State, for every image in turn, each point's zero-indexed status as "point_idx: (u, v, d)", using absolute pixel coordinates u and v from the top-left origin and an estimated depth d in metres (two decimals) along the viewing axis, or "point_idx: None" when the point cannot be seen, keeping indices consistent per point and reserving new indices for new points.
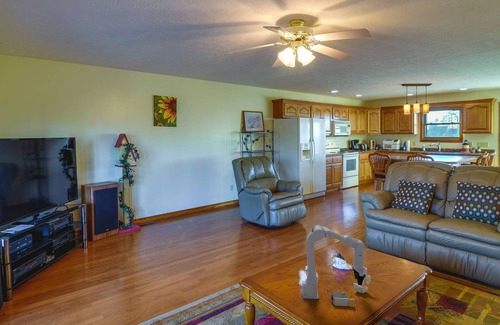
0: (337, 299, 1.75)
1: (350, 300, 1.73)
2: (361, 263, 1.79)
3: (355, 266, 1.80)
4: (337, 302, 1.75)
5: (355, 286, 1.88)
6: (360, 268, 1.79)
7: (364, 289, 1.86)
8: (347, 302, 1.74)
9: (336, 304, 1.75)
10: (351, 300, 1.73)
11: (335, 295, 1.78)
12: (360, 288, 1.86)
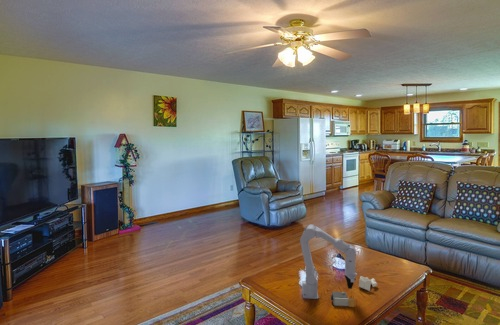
0: (337, 299, 1.75)
1: (350, 300, 1.73)
2: (352, 269, 1.75)
3: (346, 272, 1.77)
4: (337, 302, 1.75)
5: (362, 277, 1.94)
6: (351, 274, 1.75)
7: (369, 284, 1.91)
8: (347, 302, 1.74)
9: (336, 304, 1.75)
10: (351, 300, 1.73)
11: (335, 295, 1.78)
12: (367, 279, 1.92)
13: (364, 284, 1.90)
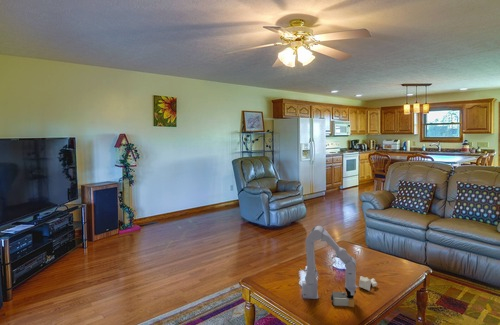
0: (337, 299, 1.75)
1: (350, 300, 1.73)
2: (353, 282, 1.74)
3: (346, 285, 1.75)
4: (337, 302, 1.75)
5: (362, 277, 1.94)
6: (352, 287, 1.74)
7: (369, 284, 1.91)
8: (347, 302, 1.74)
9: (336, 304, 1.75)
10: (351, 300, 1.73)
11: (335, 295, 1.78)
12: (367, 279, 1.92)
13: (364, 284, 1.90)
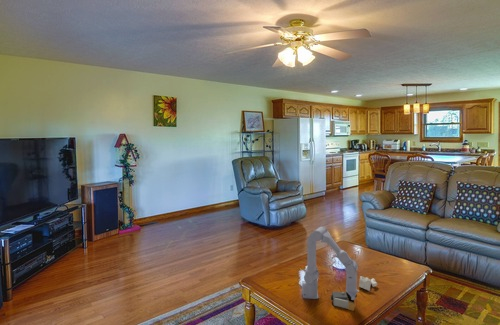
0: (336, 300, 1.74)
1: (350, 303, 1.70)
2: (353, 286, 1.69)
3: (347, 289, 1.70)
4: (337, 303, 1.74)
5: (362, 277, 1.94)
6: (352, 291, 1.69)
7: (369, 284, 1.91)
8: (347, 305, 1.72)
9: (336, 304, 1.75)
10: (351, 303, 1.70)
11: (335, 295, 1.78)
12: (367, 279, 1.92)
13: (364, 284, 1.90)
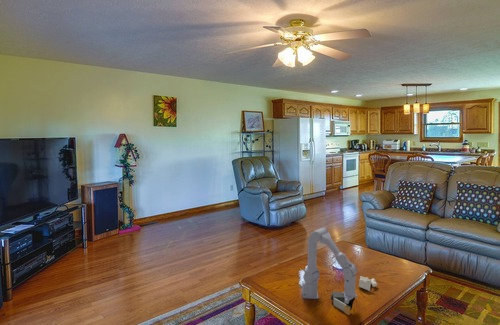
0: (335, 300, 1.74)
1: (345, 306, 1.67)
2: (350, 290, 1.65)
3: (344, 292, 1.68)
4: (336, 303, 1.74)
5: (362, 277, 1.94)
6: (349, 295, 1.65)
7: (369, 284, 1.91)
8: (344, 308, 1.69)
9: (335, 305, 1.74)
10: (346, 307, 1.67)
11: (335, 295, 1.78)
12: (367, 279, 1.92)
13: (364, 284, 1.90)
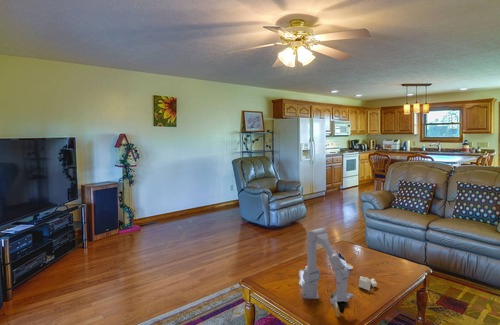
0: None
1: (335, 307, 1.66)
2: (339, 292, 1.63)
3: None
4: None
5: (362, 277, 1.94)
6: (338, 297, 1.64)
7: (369, 284, 1.91)
8: None
9: (333, 305, 1.74)
10: (336, 308, 1.66)
11: (335, 295, 1.78)
12: (367, 279, 1.92)
13: (364, 284, 1.90)
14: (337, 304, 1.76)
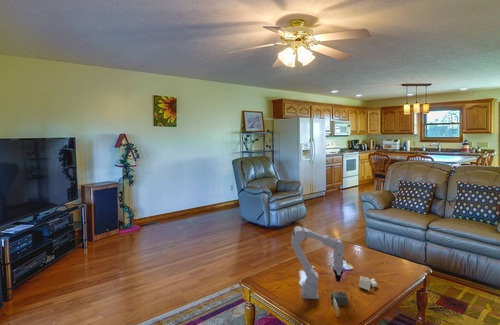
0: (333, 300, 1.74)
1: (335, 307, 1.66)
2: (340, 262, 1.81)
3: (334, 265, 1.83)
4: (333, 303, 1.74)
5: (362, 277, 1.94)
6: (339, 267, 1.82)
7: (369, 284, 1.91)
8: (336, 309, 1.68)
9: (333, 305, 1.74)
10: (336, 308, 1.66)
11: (335, 295, 1.78)
12: (367, 279, 1.92)
13: (364, 284, 1.90)
14: (337, 304, 1.76)
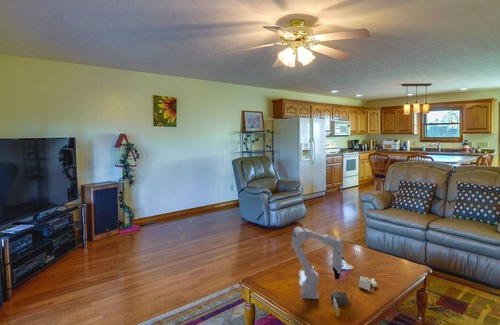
0: (333, 300, 1.74)
1: (335, 307, 1.66)
2: (339, 261, 1.84)
3: (333, 264, 1.86)
4: (333, 303, 1.74)
5: (362, 277, 1.94)
6: (338, 265, 1.84)
7: (369, 284, 1.91)
8: (336, 309, 1.68)
9: (333, 305, 1.74)
10: (336, 308, 1.66)
11: (335, 295, 1.78)
12: (367, 279, 1.92)
13: (364, 284, 1.90)
14: (337, 304, 1.76)
